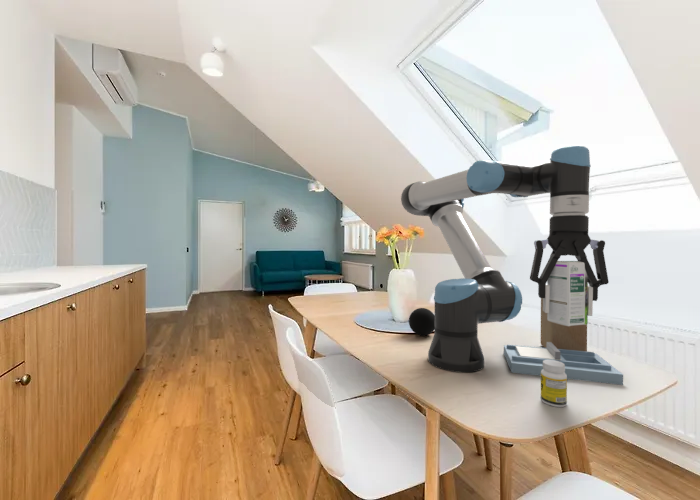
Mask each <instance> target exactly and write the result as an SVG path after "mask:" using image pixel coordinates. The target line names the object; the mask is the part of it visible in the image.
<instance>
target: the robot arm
mask: <svg viewBox="0 0 700 500" xmlns="http://www.w3.org/2000/svg"><path fill="white" fill-rule="evenodd" d="M590 156H591V155H590V149H589V148H588V147H586V146H581V145H570V146H563V147H559V148H556V149H555V150H553V151H552V152H551V154H550V158H549V161H546V162H543V163H539V164H534V165H533V164H532V165H529V164H519V163H512V162H511V163H510V162H503V161H498V160H497V161H496V160H492V159H485V160H484V159H482V160H481V159H480V160H476V161H475V162H473V164H472V165H471V166H469V168H468V169H466V170H462V171H459V172H456V173H452V174H449V175H446V176H443V177H439V178H436V179H433V180H430V181H421V180H420V181H416V182H413V183H410V184H408V185H407V186H405V188H404V189H403V190H402V192H401V195H400V200H401V201H400V202H401V205H402V207H403V209H404V210H405V211H407V213H409V214H411V215H413V216H420V217H421V216H422V217H429V219H430V221H431V223H432V225H434V226H435V227H437V228H438V227H439V230H440V231H441V234H442V235H443V237H444V239H445V241H446V243H447V247H448V248H449V249H450V250H449V251H450V252H451V253H452V254H451V255H452V256H453V258H454V260H455V261H456V263H457V266H458V267H459V268H458V269H459V270H460V272H461V274H462V275H463V277H461V278H450V279H445V280H442V281H439V282H438V283H437V284H436V285H435V286H434V297H433V301H434V315H435V329H434V334H433V337H432V340H431V343H430V346H429V349H428V352H427V354H428V355H427V360H428V362H429V364H431V365H432V366H434V367H437V369H438V368H439V369H441V370H445V371H449V372H458V373H471V372H477V371H480V370H482V369H483V368H484V367H485V356H484V353H483V350H482V347H481V344H480V341H479V338H478V336H479V335H478V325H479V324H487V323H488V324H489V323H497V322H498V323H501V322H506V321H510V320H513V319H514V318H516V317H517V316H518V315H519V314H520V312H521V310H522V309H521V308H522V304H523V296H522V292H521V290H520V288H519V286H518V285H516V283H514V282H511V281H510V280H505V279H504V277H503V275H502V274H501V272H500V271H499V270H497V269H495V268H492V267H491V265H490V262H489V261H488V260H487V258H486V256H485V254H484V252H483V251H482V249H481V247H480V246H479V244H478V242H477V240H476V238H475V237H474V234H473V233H472V231H471V228H469V226H468V224H467V223H466V221H465V219H464V217H463V212H464V207H465V202H464V201H465V199H468V198H473V197H474V198H475V197H479V196H483V195H489V194H505V195H510V196H511V197H513V198H528V197H531V196H537V195H543V194H549V195H550V197H549V214H550V216H551V215H552V216H551V217H549V231H548V232H549V234H548V236H547V238H546V239H541V240H538V239H537V240H534V242H533V245H534V249H535V251H534V255H533V256H534V257H533V260H532V265H531V271H530V275H529V280H530V281H532V282H534V283H537V284H538V286H537V288H538V290H537V292H538V297H539V298H540V299H541V298H543V311H544V312H545V313H549V298H550V285H548V284H547V280H548V278H549V276H550V275H551V273H552V271H553V269H554V267H555V265H556V263H557V261H559V260H560V259H561V256H573V257H575V258H576V261H580V262H584V264H585V270H586V273H587V275H588V317H593V310H594V309H593V304H594V302H597V300H598V298H599V297H598V296H599V287H601V286H604V285H608V284H609V276H608V271H607V266H606V259H605V254H604V249H605V246H606V241H605V240H602V239H601V240H595V239H591V237H590V236H589V221H590V220H589V218H590V217H588V215H586V214H588V213H589V212H590V208H589V207H590V203H589V202H590V190H589V189H590V172H591V161H590V160H591V159H590V158H591V157H590ZM547 245H549V247H550V248H551V249H552V252H551V253H550V256H549V258H548V259H547V260H548V261H546V262H547V263H546V265H545V266H544V268H543V270H542V272H541V274H540V270H541V264H542V261H543V255H544V249H546V248H547ZM588 246H590V248H591V250H592V253H593V254H592V255H593V260H594V266H595V273H596V275H595V273H594V271H593V269H592V268H593V267H592V266H591V264H590V262H589V259H588V258H587V254H586V252H585V250H586V248H587V247H588ZM539 274H540V275H539ZM596 276H597V277H596ZM593 301H594V302H593Z"/></svg>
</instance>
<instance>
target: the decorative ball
mask: <svg viewBox="0 0 700 500" xmlns="http://www.w3.org/2000/svg"><path fill="white" fill-rule="evenodd" d="M408 325H409V328H410V329H411V331H413V333H414V334H416V335H418V336H428V335H431V334H432V333H433V332H435V313H434V312H432V311H431V310H430V309H428V308H424V307H419V308H416V309H414V310H413V311H412V312H411V313H410V315H409V318H408Z"/></svg>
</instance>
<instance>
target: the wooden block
mask: <svg viewBox="0 0 700 500" xmlns="http://www.w3.org/2000/svg"><path fill="white" fill-rule="evenodd" d="M547 342H552V344H553V345H554V346H555V347H556V348H557V349H565V350H576V351H588V324H587V325H574V326H565V325H561V324H557V323H553V322H550V321H548V320H547V313H545V312H544V311H543V298H540V345H541V346H542V348H546V344H547Z"/></svg>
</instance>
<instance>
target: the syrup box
mask: <svg viewBox="0 0 700 500" xmlns="http://www.w3.org/2000/svg"><path fill="white" fill-rule="evenodd" d="M546 284H548V285H550V298H549V313H547V320H548V321H550V322H553V323H557V324H561V325H565V326H574V325H587V326H588V322H589V321H588V320H589V319H588V317H589V316H588V286H589V283H588V275H587V273H586V270H585V264H584V262H580V261H578V260H558V261H557V263H556V265H555V267H554V269H553V271H552V273H551V275H550V276H549V278H548V280H547V282H546Z"/></svg>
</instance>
